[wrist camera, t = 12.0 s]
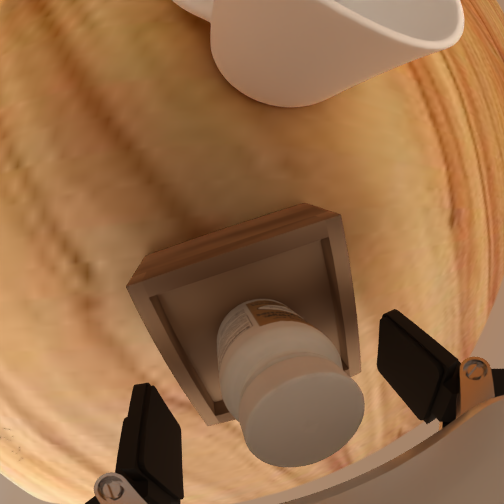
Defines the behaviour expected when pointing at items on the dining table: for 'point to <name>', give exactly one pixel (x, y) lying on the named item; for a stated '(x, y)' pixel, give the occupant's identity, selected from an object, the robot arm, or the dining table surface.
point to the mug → (320, 42)
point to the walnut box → (246, 292)
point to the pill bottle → (285, 385)
